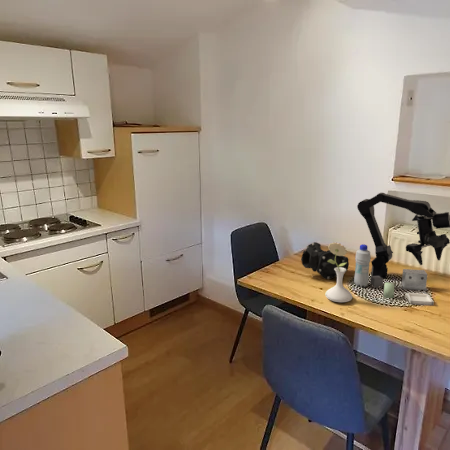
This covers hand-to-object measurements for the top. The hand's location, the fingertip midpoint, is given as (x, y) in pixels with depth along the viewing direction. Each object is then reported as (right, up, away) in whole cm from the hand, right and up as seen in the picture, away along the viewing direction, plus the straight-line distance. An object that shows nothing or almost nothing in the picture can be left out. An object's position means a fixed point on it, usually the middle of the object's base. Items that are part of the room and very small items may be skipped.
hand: (430, 262), depth 177 cm
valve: (-45, -7, +24) cm, 52 cm away
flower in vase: (-44, -15, -7) cm, 48 cm away
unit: (-7, -12, +1) cm, 14 cm away
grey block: (-23, -11, +5) cm, 26 cm away
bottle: (-30, -11, +5) cm, 32 cm away
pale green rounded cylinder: (-22, -14, -7) cm, 27 cm away
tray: (-11, -15, -11) cm, 22 cm away
